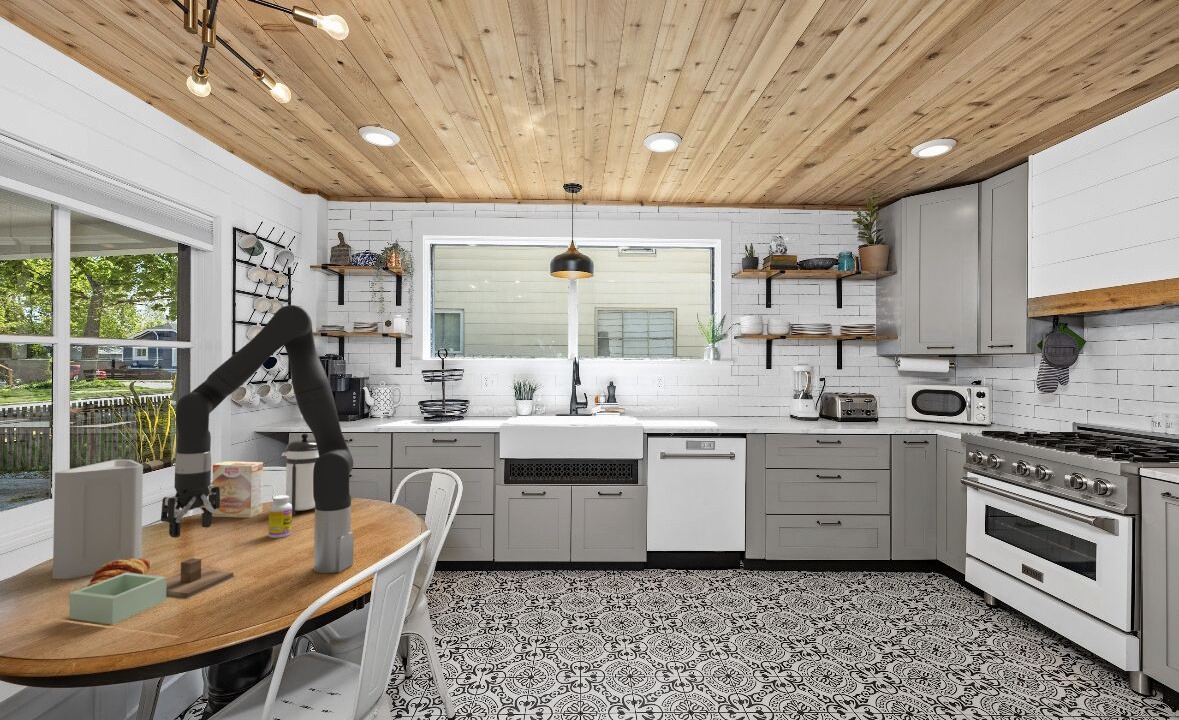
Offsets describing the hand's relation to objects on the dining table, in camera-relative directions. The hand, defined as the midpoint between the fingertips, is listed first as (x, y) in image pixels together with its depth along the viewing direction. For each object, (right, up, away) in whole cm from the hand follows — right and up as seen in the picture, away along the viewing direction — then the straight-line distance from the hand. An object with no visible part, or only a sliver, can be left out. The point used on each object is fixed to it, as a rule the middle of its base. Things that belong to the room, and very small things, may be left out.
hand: (191, 531), depth 137 cm
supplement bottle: (0, -14, +40) cm, 42 cm away
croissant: (-19, -14, +1) cm, 23 cm away
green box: (-6, -14, -14) cm, 21 cm away
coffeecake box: (-29, -14, +62) cm, 70 cm away
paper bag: (-32, -14, +13) cm, 37 cm away
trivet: (0, -14, 0) cm, 14 cm away
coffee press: (-7, -14, +70) cm, 72 cm away
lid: (0, -14, 0) cm, 14 cm away
